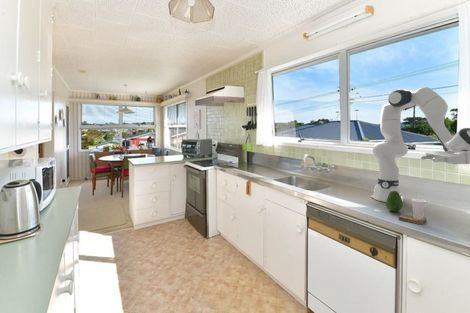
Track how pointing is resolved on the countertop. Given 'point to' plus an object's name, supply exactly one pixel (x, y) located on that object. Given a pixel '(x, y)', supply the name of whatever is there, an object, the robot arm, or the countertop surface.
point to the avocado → (394, 201)
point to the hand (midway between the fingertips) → (427, 158)
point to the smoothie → (418, 208)
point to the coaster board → (411, 218)
